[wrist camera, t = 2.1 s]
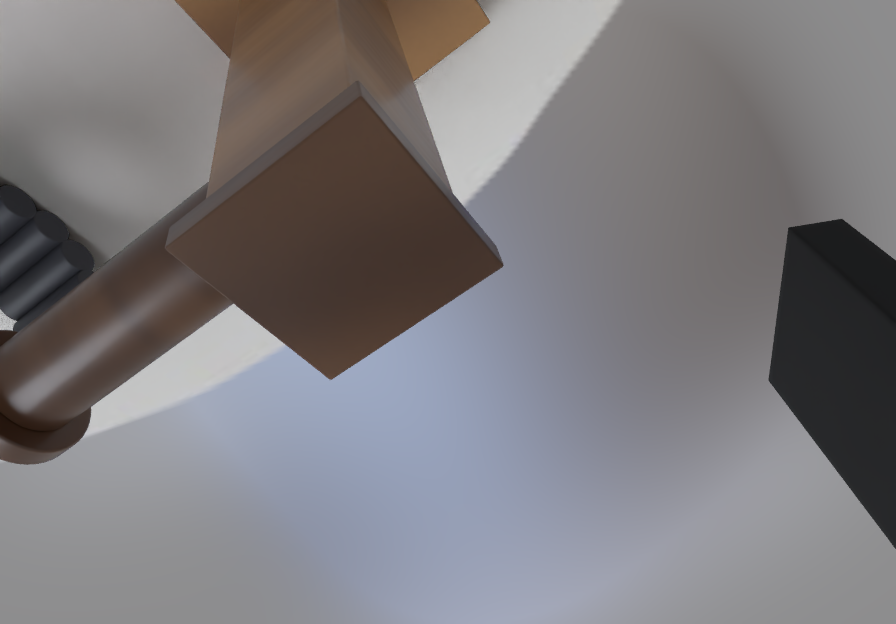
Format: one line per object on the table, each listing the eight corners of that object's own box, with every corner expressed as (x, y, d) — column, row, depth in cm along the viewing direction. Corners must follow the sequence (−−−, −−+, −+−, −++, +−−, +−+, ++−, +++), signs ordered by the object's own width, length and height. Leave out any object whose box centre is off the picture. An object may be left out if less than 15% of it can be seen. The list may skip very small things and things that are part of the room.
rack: (2, 34, 31) (-339, 406, 14) (308, -259, 26) (342, -226, 10) (215, 219, 38) (158, 612, 21) (483, 12, 33) (677, 300, 17)
